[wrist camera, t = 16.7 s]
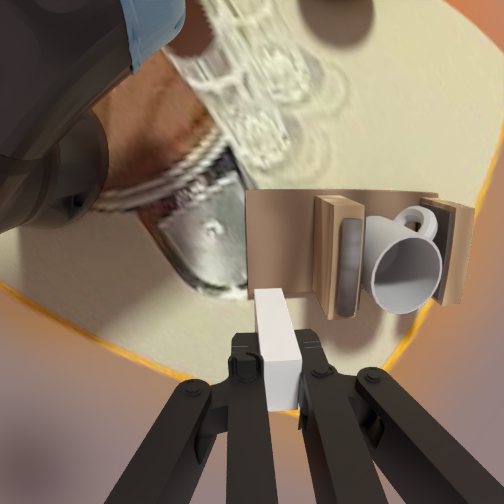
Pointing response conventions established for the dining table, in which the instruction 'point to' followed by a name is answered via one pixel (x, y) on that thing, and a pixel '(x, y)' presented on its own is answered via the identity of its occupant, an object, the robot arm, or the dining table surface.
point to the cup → (401, 260)
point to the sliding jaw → (338, 254)
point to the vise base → (376, 204)
